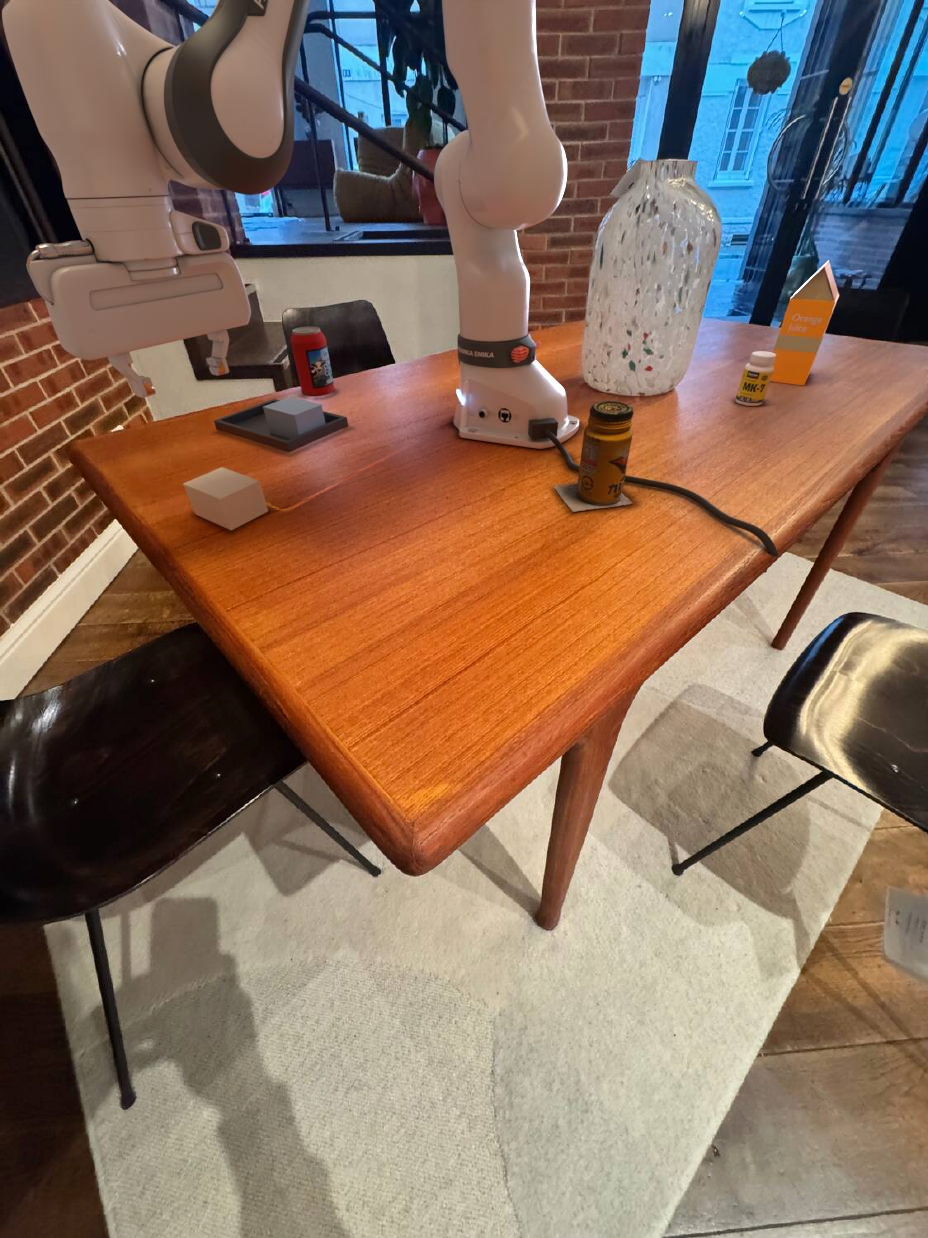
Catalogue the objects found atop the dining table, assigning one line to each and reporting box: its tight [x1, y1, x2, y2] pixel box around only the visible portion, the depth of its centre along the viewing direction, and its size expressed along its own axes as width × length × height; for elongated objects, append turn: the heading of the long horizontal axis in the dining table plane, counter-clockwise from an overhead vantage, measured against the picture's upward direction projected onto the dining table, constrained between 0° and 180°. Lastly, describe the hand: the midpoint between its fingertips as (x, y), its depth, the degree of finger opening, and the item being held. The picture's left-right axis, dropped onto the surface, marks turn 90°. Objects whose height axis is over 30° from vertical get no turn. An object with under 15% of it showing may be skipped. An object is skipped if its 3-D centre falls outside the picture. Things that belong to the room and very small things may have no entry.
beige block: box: [182, 466, 269, 531], centre depth 69 cm, size 8×6×4 cm
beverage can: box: [290, 326, 335, 397], centre depth 105 cm, size 7×7×12 cm
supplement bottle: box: [734, 350, 776, 407], centre depth 95 cm, size 5×5×8 cm
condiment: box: [553, 400, 634, 513], centre depth 68 cm, size 7×8×12 cm
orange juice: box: [770, 259, 840, 386], centre depth 103 cm, size 8×9×20 cm
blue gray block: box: [263, 396, 325, 439], centre depth 90 cm, size 8×6×4 cm
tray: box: [213, 398, 349, 453], centre depth 93 cm, size 20×14×2 cm
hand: (185, 384), depth 60 cm, fingers open, 8 cm apart
